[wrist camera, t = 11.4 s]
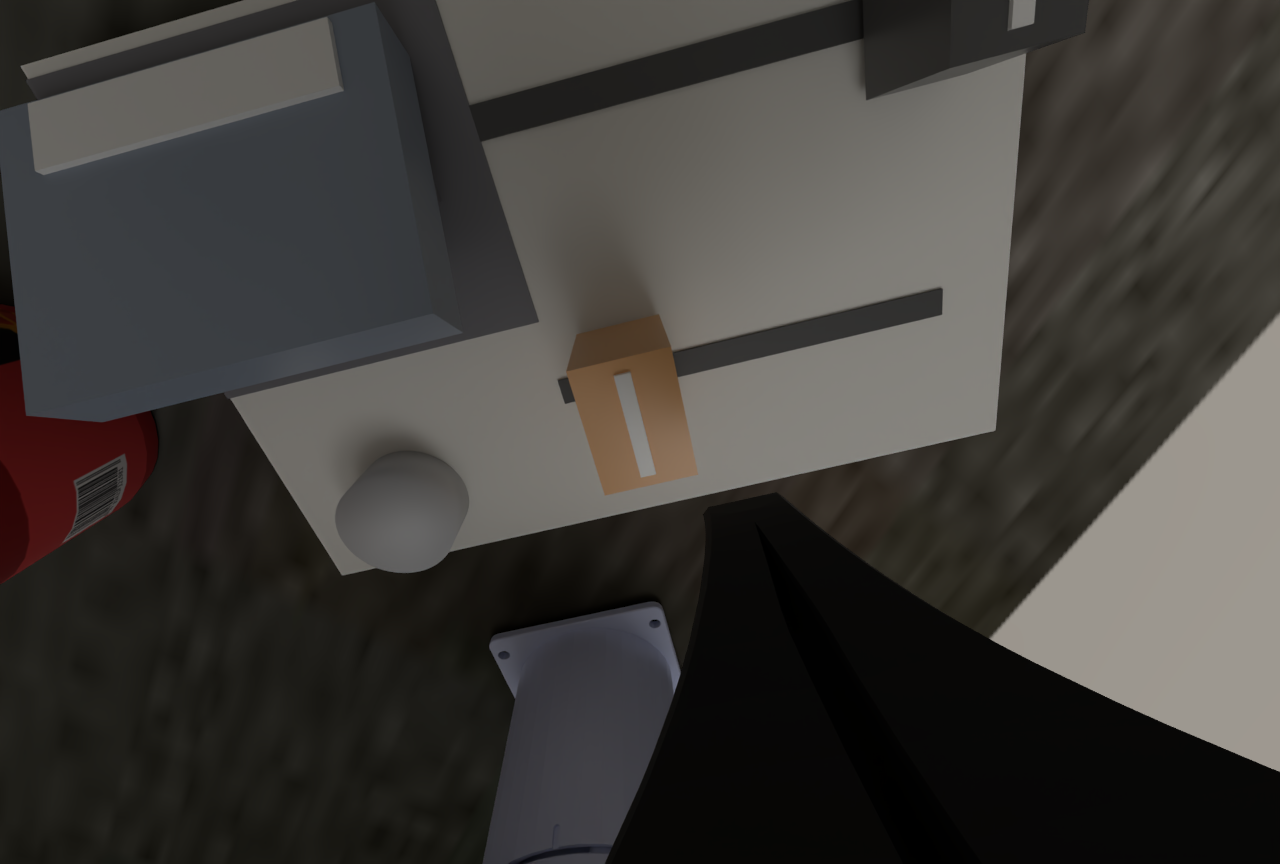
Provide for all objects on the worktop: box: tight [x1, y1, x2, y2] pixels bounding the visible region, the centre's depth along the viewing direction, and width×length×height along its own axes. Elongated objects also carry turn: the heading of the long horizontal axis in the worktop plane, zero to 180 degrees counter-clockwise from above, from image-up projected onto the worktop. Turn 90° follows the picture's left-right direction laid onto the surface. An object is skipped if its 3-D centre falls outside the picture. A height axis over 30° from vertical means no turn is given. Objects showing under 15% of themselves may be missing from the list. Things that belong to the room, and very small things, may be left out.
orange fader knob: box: [566, 314, 698, 495], centre depth 14 cm, size 4×2×4 cm
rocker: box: [0, 2, 463, 422], centre depth 11 cm, size 7×9×2 cm
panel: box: [20, 0, 1026, 575], centre depth 15 cm, size 16×24×4 cm, turn 103°
